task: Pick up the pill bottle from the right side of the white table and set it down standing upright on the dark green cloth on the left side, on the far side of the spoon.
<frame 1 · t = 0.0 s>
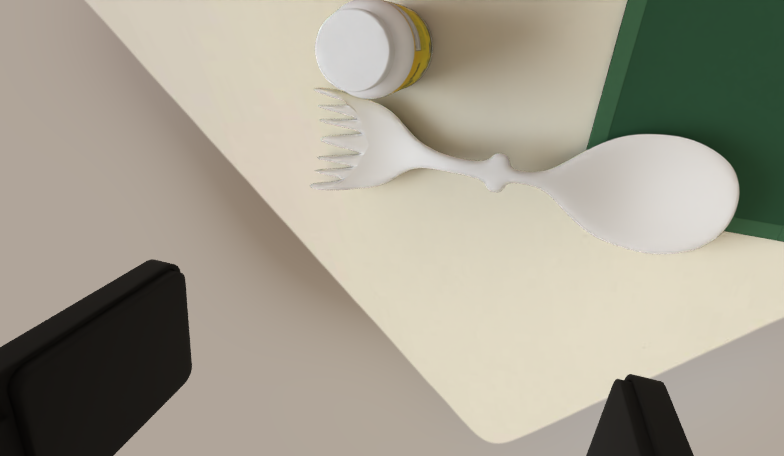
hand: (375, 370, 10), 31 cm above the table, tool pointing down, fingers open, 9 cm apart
pill bottle: (397, 48, 38), on the table
spoon: (507, 164, 39), on the table, touching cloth
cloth: (726, 90, 33), on the table
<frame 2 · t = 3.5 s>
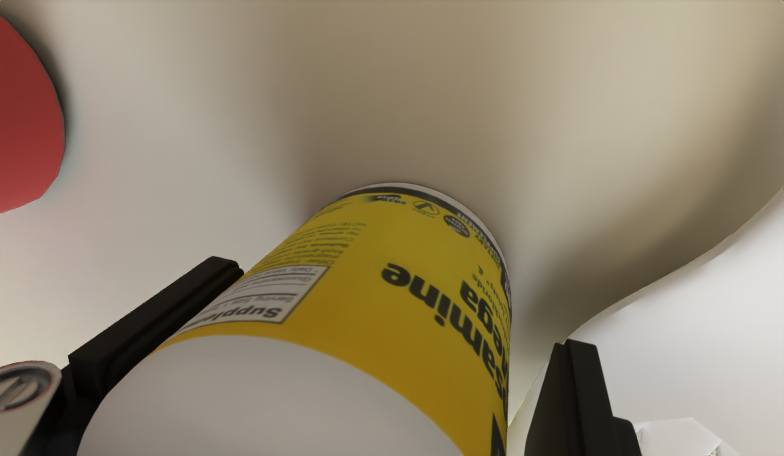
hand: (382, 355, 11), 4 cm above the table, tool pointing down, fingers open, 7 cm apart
pill bottle: (404, 274, 14), on the table, touching gripper
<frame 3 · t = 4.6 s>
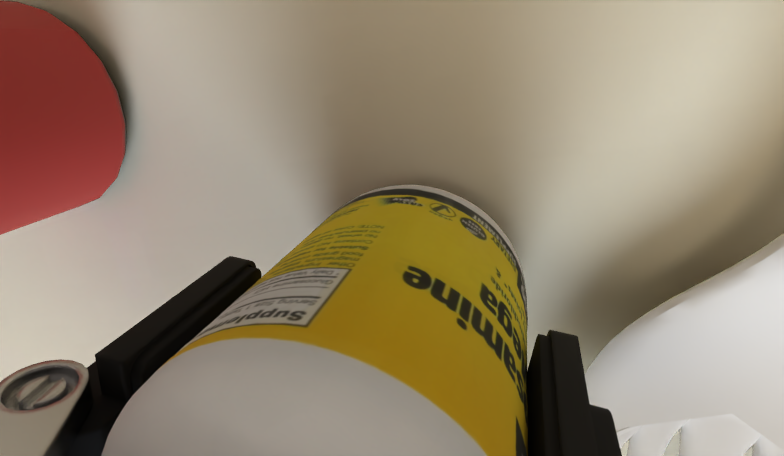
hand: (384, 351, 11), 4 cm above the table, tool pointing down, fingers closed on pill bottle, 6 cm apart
pill bottle: (418, 276, 14), point 1 cm above the table, touching gripper
beer can: (62, 108, 16), on the table
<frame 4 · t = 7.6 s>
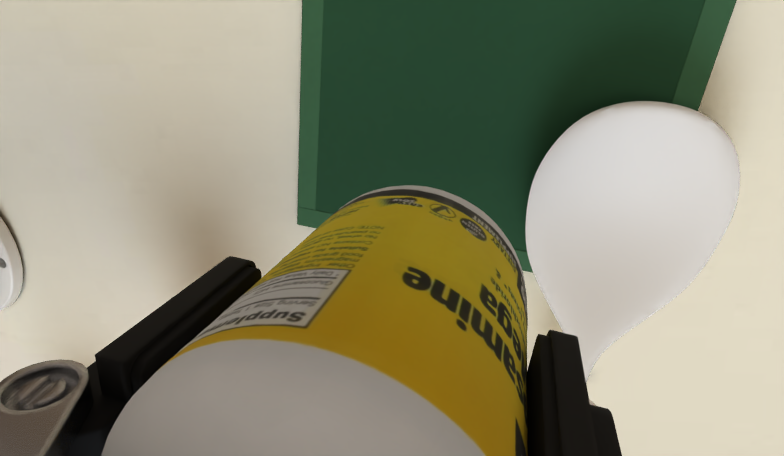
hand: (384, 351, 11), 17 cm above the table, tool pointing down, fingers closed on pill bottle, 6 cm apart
pill bottle: (418, 277, 14), point 13 cm above the table, touching gripper
spoon: (566, 363, 29), on the table, touching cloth
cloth: (477, 119, 25), on the table
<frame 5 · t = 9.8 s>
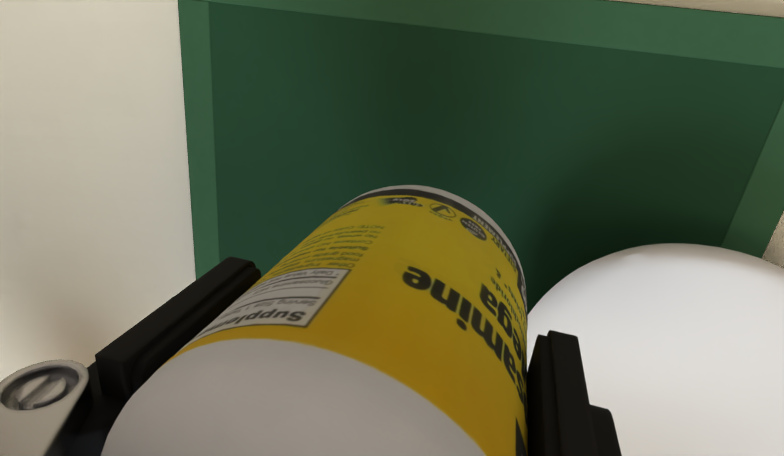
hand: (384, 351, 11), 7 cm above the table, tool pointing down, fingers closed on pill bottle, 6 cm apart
pill bottle: (418, 276, 14), point 4 cm above the table, touching gripper
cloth: (437, 232, 17), on the table
when the fingers open (4 cm above the table, at t = 11.2 s): pill bottle stays where it is, resting on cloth.
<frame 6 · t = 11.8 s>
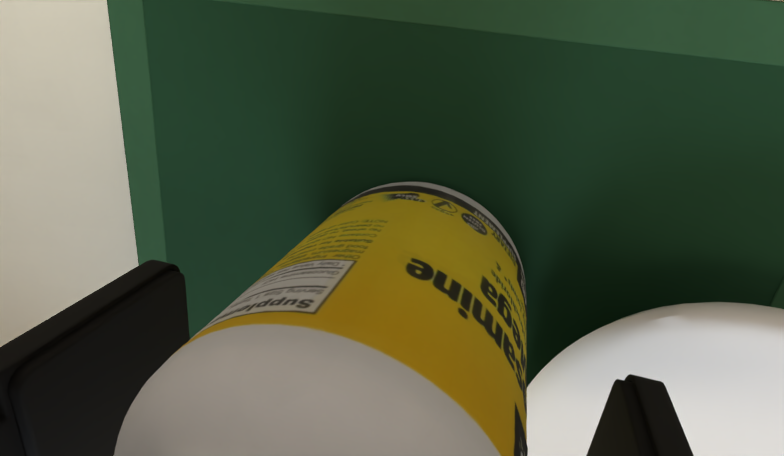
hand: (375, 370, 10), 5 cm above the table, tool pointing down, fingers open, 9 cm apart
pill bottle: (420, 272, 14), resting on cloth
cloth: (422, 271, 14), on the table
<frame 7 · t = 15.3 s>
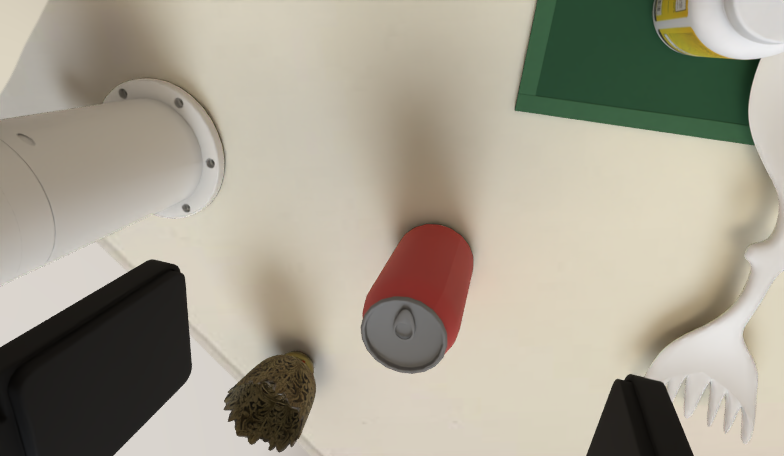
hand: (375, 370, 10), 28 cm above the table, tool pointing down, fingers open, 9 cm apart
pill bottle: (705, 2, 29), resting on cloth
beer can: (435, 256, 40), on the table
spoon: (754, 229, 33), on the table, touching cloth
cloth: (705, 2, 29), on the table
cup: (300, 361, 49), on the table
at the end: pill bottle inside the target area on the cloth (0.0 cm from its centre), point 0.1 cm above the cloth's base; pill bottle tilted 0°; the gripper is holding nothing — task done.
